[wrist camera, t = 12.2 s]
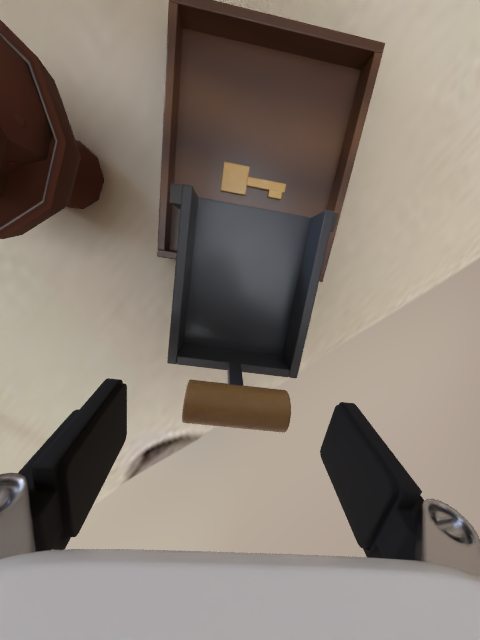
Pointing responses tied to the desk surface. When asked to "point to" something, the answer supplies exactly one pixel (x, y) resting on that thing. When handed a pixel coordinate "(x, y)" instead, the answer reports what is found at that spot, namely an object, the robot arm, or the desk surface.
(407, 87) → the desk surface
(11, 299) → the desk surface
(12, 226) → the ice cream bowl
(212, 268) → the scoop
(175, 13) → the tray
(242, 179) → the key
